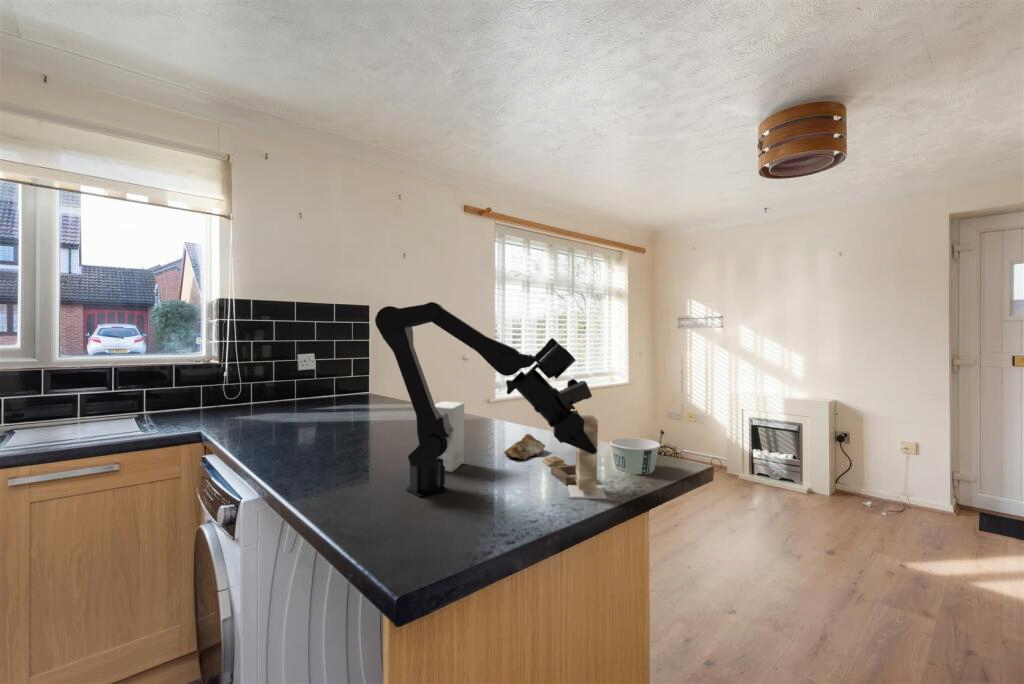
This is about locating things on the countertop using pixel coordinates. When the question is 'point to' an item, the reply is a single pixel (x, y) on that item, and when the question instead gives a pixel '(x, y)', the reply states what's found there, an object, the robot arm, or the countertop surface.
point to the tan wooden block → (587, 457)
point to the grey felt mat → (586, 493)
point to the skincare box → (453, 434)
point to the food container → (635, 455)
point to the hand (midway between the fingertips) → (592, 448)
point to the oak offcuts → (553, 461)
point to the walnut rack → (564, 474)
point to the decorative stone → (525, 448)
